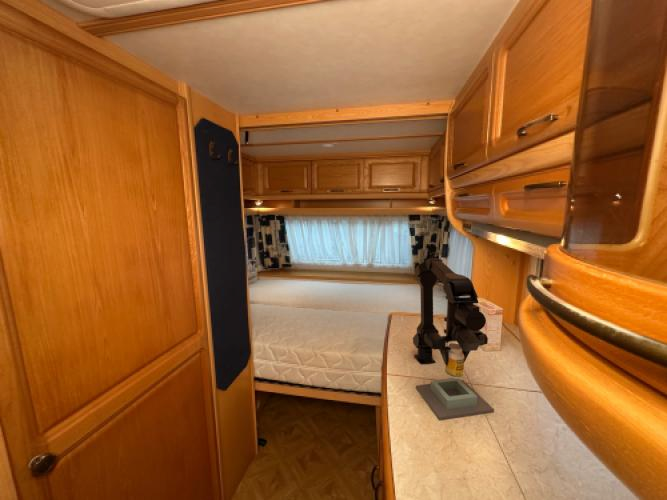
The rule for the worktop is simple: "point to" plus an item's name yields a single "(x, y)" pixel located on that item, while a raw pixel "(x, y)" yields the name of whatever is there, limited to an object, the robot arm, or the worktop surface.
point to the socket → (453, 399)
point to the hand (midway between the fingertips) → (454, 363)
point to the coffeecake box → (491, 324)
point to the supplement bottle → (455, 362)
